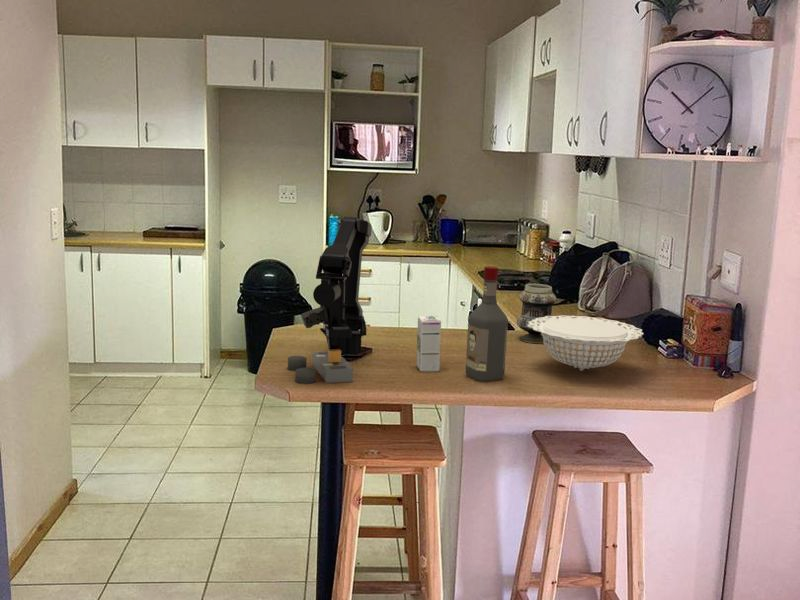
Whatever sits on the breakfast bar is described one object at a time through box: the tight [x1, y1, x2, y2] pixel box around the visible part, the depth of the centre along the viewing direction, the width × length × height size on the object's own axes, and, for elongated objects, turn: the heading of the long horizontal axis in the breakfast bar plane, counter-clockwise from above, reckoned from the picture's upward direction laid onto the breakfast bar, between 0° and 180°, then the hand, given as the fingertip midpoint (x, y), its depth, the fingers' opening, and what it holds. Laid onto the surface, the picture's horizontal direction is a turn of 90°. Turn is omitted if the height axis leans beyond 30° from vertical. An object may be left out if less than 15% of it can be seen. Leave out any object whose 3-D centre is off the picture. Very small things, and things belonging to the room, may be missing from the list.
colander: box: [528, 315, 644, 372], centre depth 233 cm, size 32×32×13 cm
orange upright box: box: [327, 349, 341, 362], centre depth 219 cm, size 3×2×3 cm, turn 107°
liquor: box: [464, 266, 509, 383], centre depth 221 cm, size 9×9×30 cm
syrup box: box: [415, 315, 442, 372], centre depth 228 cm, size 6×6×14 cm
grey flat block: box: [312, 350, 354, 384], centre depth 222 cm, size 7×18×4 cm, turn 17°
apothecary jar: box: [516, 283, 557, 344], centre depth 267 cm, size 12×12×18 cm
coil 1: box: [287, 355, 307, 372], centre depth 225 cm, size 5×5×3 cm
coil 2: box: [295, 367, 316, 385], centre depth 214 cm, size 5×5×3 cm
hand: (332, 356), depth 221 cm, fingers closed
